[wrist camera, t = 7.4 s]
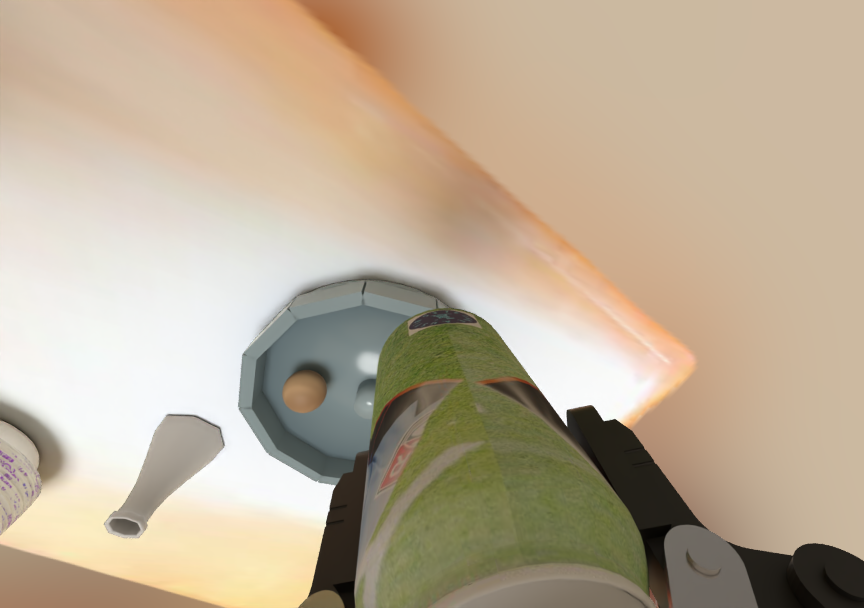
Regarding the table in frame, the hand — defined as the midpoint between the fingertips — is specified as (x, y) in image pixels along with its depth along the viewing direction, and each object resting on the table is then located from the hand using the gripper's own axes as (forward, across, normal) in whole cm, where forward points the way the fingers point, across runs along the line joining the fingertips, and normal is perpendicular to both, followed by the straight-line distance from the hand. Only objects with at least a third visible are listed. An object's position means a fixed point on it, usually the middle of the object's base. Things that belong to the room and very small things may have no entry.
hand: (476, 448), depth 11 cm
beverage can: (+6, 0, 0) cm, 6 cm away
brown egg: (+20, +15, +10) cm, 27 cm away
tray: (+21, +10, +13) cm, 27 cm away
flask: (+22, +32, +15) cm, 41 cm away
